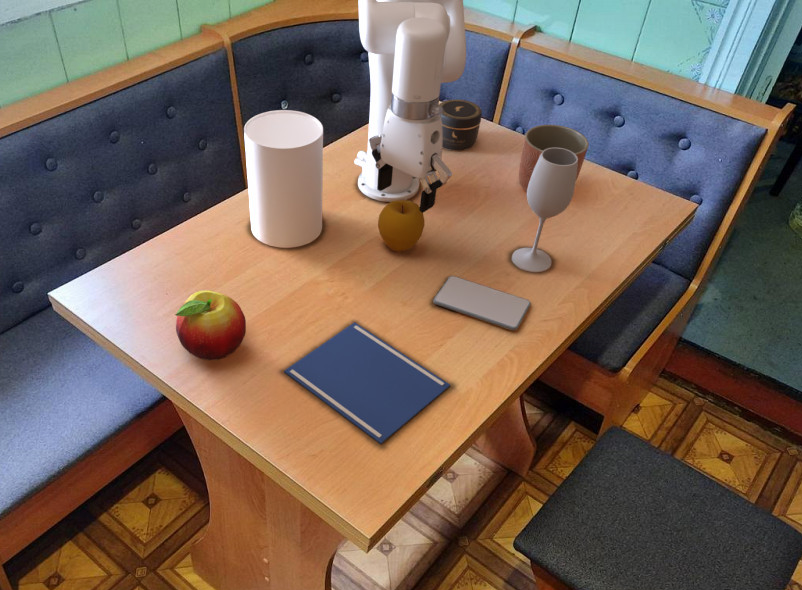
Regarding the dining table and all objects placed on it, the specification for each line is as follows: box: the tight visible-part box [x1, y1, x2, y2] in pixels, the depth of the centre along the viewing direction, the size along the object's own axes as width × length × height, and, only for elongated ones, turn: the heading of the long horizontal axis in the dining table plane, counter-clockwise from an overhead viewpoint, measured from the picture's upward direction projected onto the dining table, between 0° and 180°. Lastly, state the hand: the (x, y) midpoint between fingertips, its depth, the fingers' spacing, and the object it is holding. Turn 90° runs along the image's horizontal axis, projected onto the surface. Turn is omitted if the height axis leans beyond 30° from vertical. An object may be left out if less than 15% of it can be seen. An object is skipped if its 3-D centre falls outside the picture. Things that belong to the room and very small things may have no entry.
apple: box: [377, 199, 426, 253], centre depth 132 cm, size 8×8×9 cm
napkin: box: [283, 321, 451, 445], centre depth 111 cm, size 20×16×1 cm
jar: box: [439, 98, 483, 152], centre depth 161 cm, size 10×10×8 cm
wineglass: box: [511, 148, 578, 273], centre depth 126 cm, size 8×8×21 cm
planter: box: [518, 124, 590, 192], centre depth 147 cm, size 12×12×11 cm
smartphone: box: [433, 275, 532, 331], centre depth 124 cm, size 8×1×15 cm
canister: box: [243, 109, 324, 249], centre depth 132 cm, size 14×14×20 cm
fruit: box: [174, 289, 247, 361], centre depth 112 cm, size 11×11×10 cm
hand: (404, 198), depth 128 cm, fingers open, 9 cm apart
